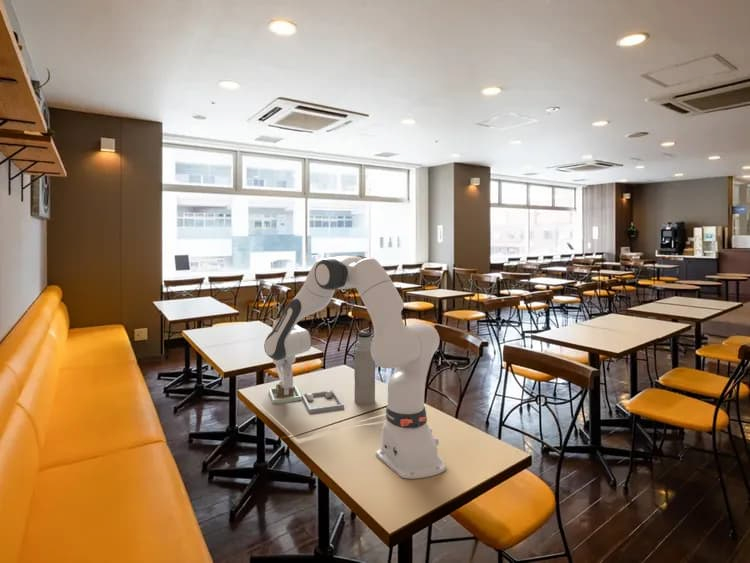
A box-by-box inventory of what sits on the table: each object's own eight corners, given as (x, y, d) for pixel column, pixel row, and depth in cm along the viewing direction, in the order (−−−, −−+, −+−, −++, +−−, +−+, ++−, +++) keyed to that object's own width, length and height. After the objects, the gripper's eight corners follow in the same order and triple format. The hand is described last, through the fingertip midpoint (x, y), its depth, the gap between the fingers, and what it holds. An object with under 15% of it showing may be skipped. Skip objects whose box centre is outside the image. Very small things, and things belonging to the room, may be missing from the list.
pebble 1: (314, 401, 173) (314, 394, 172) (306, 402, 172) (306, 395, 171) (312, 399, 176) (312, 391, 175) (305, 400, 175) (305, 392, 174)
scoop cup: (293, 396, 176) (293, 387, 175) (278, 398, 174) (278, 389, 173) (291, 391, 181) (291, 382, 181) (276, 392, 179) (276, 384, 179)
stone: (290, 393, 177) (290, 382, 177) (282, 395, 175) (282, 384, 175) (287, 391, 180) (286, 380, 179) (279, 393, 178) (279, 382, 177)
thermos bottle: (375, 400, 176) (375, 331, 173) (374, 408, 168) (374, 336, 165) (355, 399, 177) (355, 331, 173) (353, 407, 169) (353, 336, 165)
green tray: (301, 402, 174) (301, 396, 173) (272, 406, 170) (272, 400, 170) (295, 391, 186) (295, 385, 185) (269, 394, 182) (268, 388, 182)
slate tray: (344, 411, 166) (344, 404, 165) (309, 416, 161) (309, 409, 161) (333, 395, 180) (333, 390, 180) (301, 400, 176) (301, 394, 176)
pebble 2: (333, 399, 176) (333, 391, 175) (326, 400, 175) (326, 392, 174) (331, 396, 178) (331, 389, 178) (324, 397, 177) (324, 390, 177)
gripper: (296, 364, 167) (297, 399, 169) (288, 350, 186) (288, 381, 188) (279, 365, 165) (280, 401, 167) (272, 351, 184) (273, 383, 186)
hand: (284, 390), depth 177 cm, fingers closed on scoop cup, 6 cm apart
